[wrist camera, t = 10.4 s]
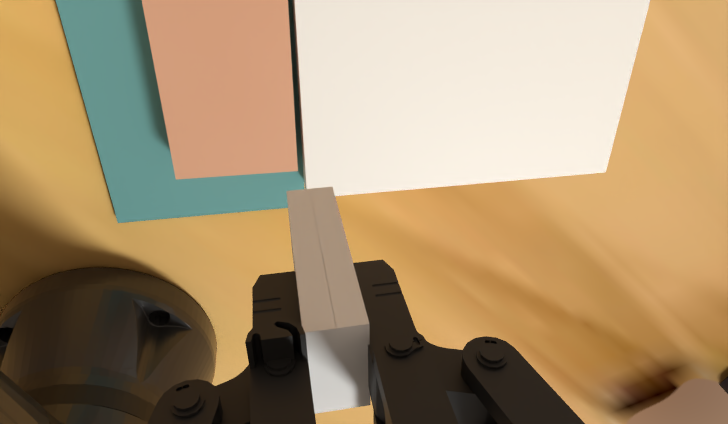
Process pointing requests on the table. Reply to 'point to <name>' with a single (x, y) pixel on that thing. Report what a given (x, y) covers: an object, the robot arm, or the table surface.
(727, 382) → the calculator
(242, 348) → the table surface
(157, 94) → the mat
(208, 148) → the tile
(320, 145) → the panel
